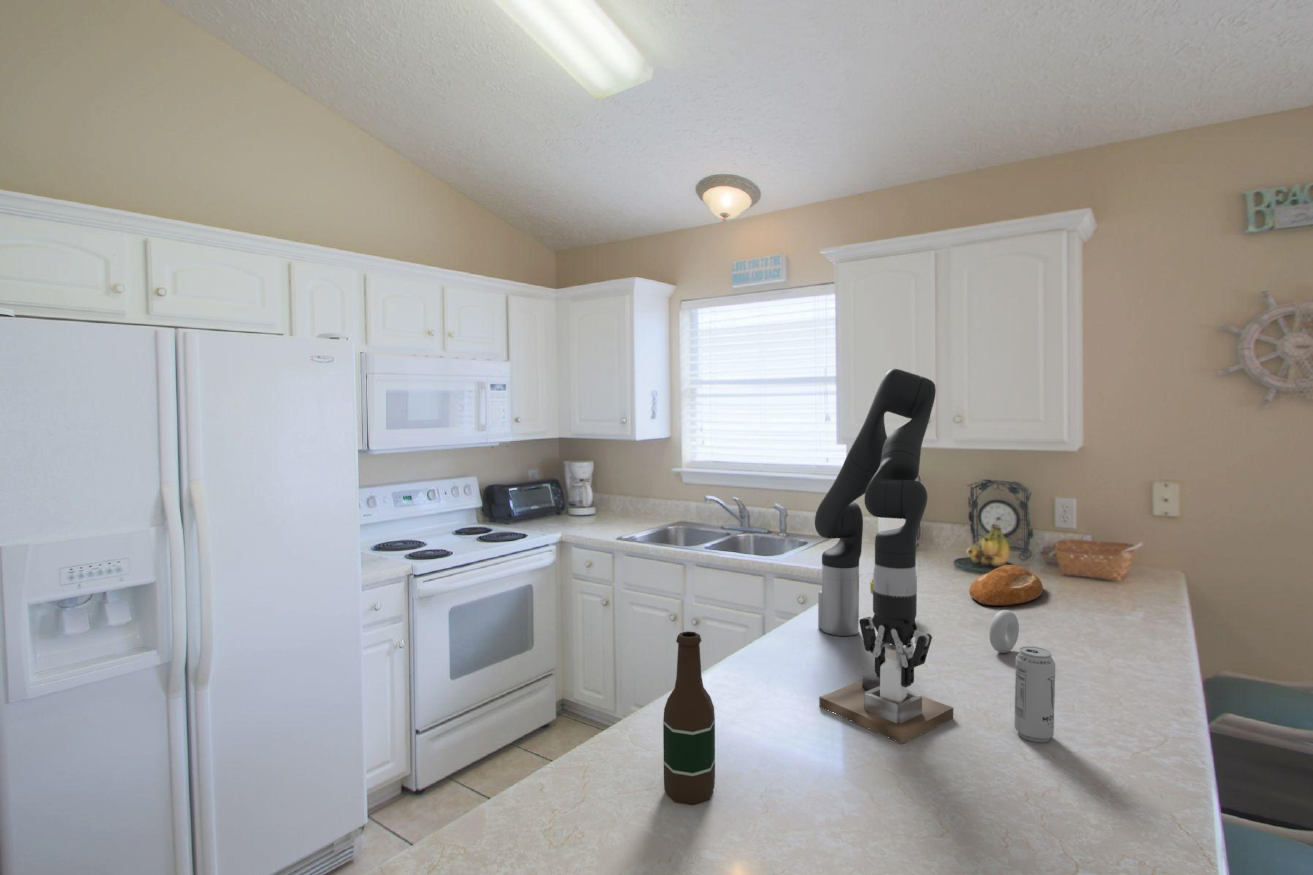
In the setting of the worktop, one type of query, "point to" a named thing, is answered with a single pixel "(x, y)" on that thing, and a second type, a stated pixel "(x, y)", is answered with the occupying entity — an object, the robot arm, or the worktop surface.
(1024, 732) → the energy drink can
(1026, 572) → the bread
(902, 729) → the carrier board
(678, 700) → the beer bottle
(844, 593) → the robot arm
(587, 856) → the worktop surface
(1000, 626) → the donut
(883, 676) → the salt shaker
